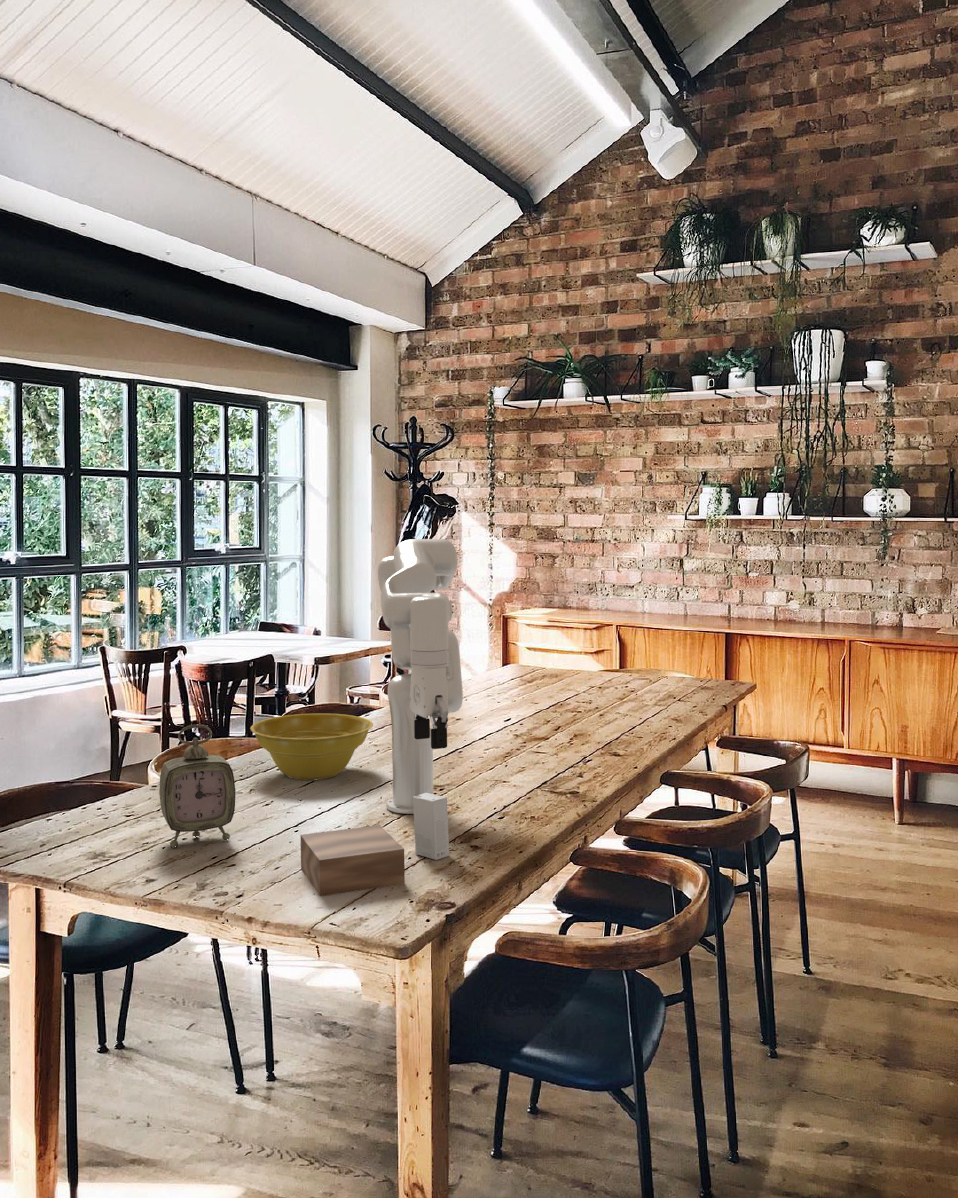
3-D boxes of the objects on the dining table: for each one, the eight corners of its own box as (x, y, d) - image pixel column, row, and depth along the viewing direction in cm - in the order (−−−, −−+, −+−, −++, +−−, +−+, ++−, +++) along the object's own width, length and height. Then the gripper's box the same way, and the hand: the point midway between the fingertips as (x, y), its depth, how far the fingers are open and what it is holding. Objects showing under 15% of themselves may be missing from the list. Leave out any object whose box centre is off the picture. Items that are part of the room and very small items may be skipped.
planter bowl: (395, 777, 268) (394, 727, 267) (281, 796, 250) (279, 742, 249) (340, 754, 294) (339, 708, 293) (233, 770, 276) (232, 721, 275)
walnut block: (301, 870, 198) (300, 834, 198) (380, 859, 204) (379, 825, 204) (320, 898, 183) (319, 860, 183) (404, 885, 189) (404, 848, 189)
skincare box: (450, 855, 205) (449, 796, 204) (434, 861, 202) (433, 801, 201) (428, 849, 209) (428, 791, 208) (413, 854, 206) (412, 795, 205)
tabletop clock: (166, 852, 209) (162, 731, 207) (159, 839, 217) (155, 723, 215) (236, 842, 215) (233, 725, 213) (228, 830, 223) (225, 717, 221)
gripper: (397, 654, 209) (398, 736, 210) (426, 665, 193) (427, 754, 194) (432, 652, 212) (432, 733, 213) (463, 662, 196) (464, 750, 197)
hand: (430, 743), depth 203 cm, fingers open, 9 cm apart
